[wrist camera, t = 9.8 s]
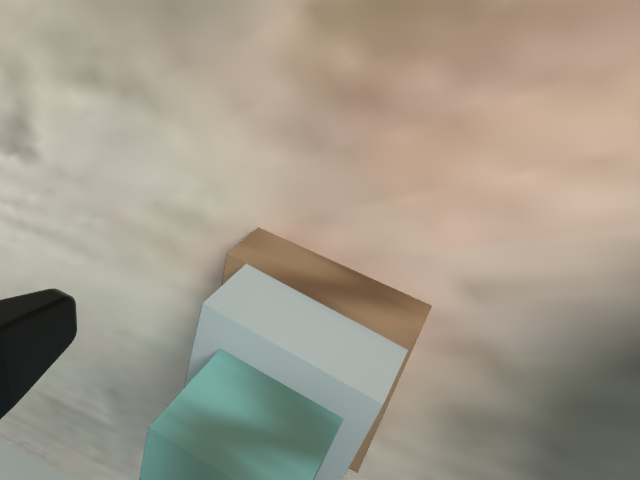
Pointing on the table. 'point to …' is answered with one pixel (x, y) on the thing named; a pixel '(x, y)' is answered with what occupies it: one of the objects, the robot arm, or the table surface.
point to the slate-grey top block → (301, 353)
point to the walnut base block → (335, 296)
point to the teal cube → (238, 429)
